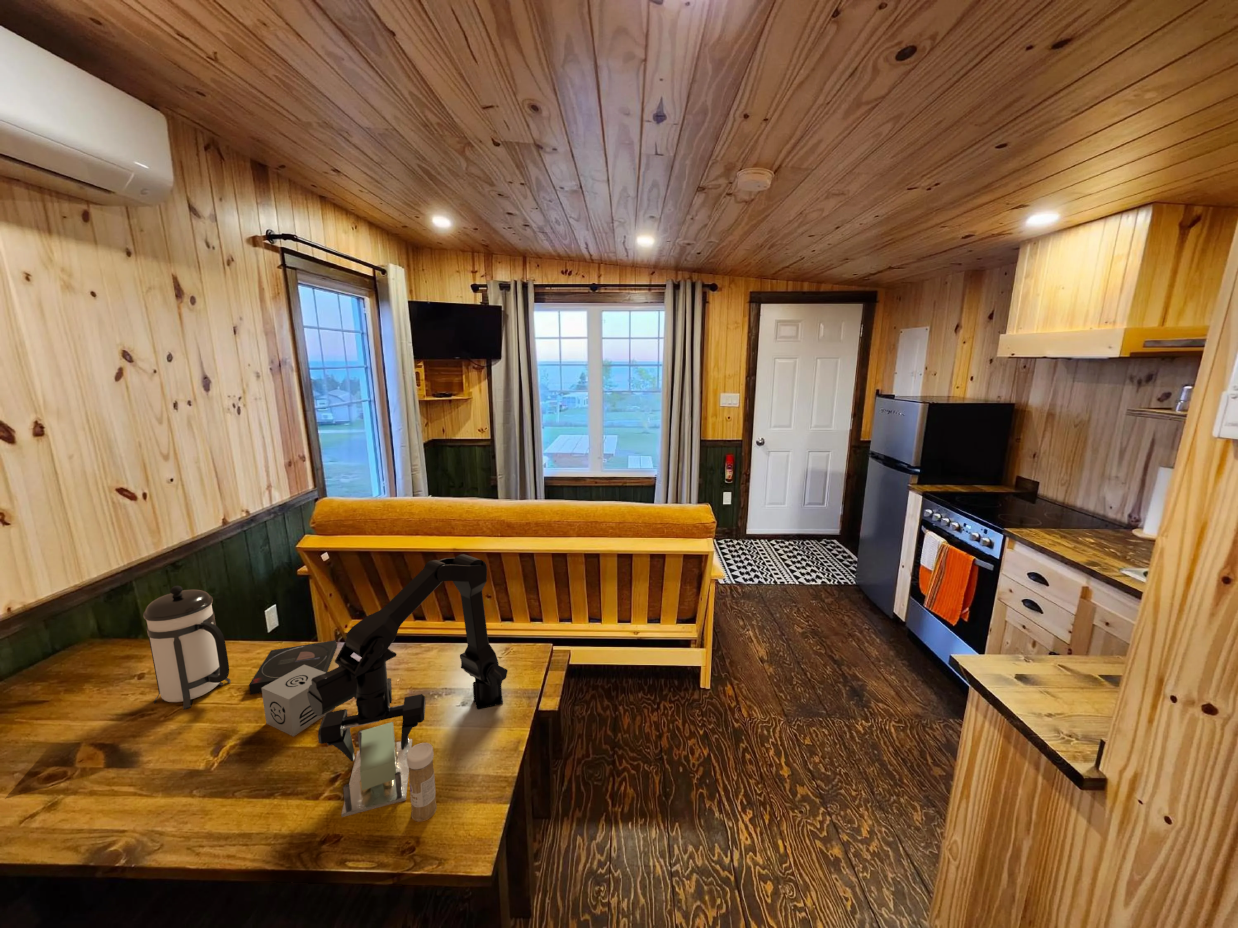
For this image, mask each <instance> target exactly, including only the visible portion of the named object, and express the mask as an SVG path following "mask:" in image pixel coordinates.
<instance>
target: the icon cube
mask: <svg viewBox="0 0 1238 928" xmlns="http://www.w3.org/2000/svg"><path fill="white" fill-rule="evenodd" d="M325 673H326V672H323V671H320V670H318V669H315V668H312V667H310V666H307V665H302V666H301V667H299V668H297V669H295V670H293V671H291V672H290V673H288V674H286V675H284V676H282V677H280V678H279V679H277V680H275V681H273V682H271V683H269V684H267V685H266V686H264V687H262V688H261V689H262V693H261V695H262V702H263V709H264V717H265V722H266V725H269V726H270V727H273V728H275V729H277V730H279V731H281V732H283V733H285V734H287V735H290V736H291V737H296V736H297V735H298V734H299V733H301V732H302V731H304V730H306V729H307V728H308V727H310V726H311V725H313V724H315V723H316V722H318V720H320V719H323V717H324V716H325V714H326V713H328V712H333V710H335V708H334V709H332V710H330V711H328V712H326V713H325V714H323V715H321V716H318V715H316V714H315V713H314V711H313V710H312V708H311V706H310V703H309V700H308V695H307V692H308V689H309V686H310V685H312V682H311V680H312V678H314V677H316V676H319V675H322V674H325Z"/></svg>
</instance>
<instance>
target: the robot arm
mask: <svg viewBox="0 0 1238 928" xmlns="http://www.w3.org/2000/svg"><path fill="white" fill-rule="evenodd" d="M487 580H488V566H487V563H486V562H485V561H484V560H483V559H480V558H477V557H474V556H470V555H468V554H466V553H465V554H464V553H463V554H458V555H457V556H455V557H445V558H441V559H433V560H429V561H428V562H426V563H425V564H424V567H423V569H422V570H421V571H420V572H419V573H417V574H416V575H415V576H414V577H413V578H412V579H411V580H410V581H409V582H408V583H407V584H406V585H405V586H404V587H403V588H402V589H401V590H400V591H399V592H398V593H397V594H396V595H395V596H394V597H393V598H392V599H391V600H390V601H389V602H387V604H386V605H385V606H383V607H382V608H381V609H380V610H378V611H375V612H373V613H371V614H368V615H367V616H365V617H364V618H363V619H361V620H360V621H358V622H357V623H355V624H354V625H353V626H352V627H351V628H350V629H349V630H348V631H347V633H346V636H345V637H346V639H345V641H344V643H343V645H342V647H341V648H340V650H339V652H338V654H337V656H336V658H335V660H334V663H335V665H338V666H337V667H336V668H333V669H332V670H328V672H327V673H325V674H322V675H319V676H316V677H314V678H312V680H311V682H312V685H310V686H309V689H308V692H307V695H308V700H309V703H310V706H311V708H312V710H313V711H314V713H315V714H316V715H318V716H321V715H323V714H325V713H326V712H328V711H330V710H332V709H333V710H334V711H333V710H332V711H330V712H328V713H326V714H325V716H323V717H322V720H321V722H320V724H319V728H318V731H317V732H318V734H317V737H318V738H317V739H318V743H319V744H321V745H322V744H327V746H334V747H335V748H336V749H337V750H339V751H340V752H342V753H343V755H345V757H347V759H349V761H351V762H355V758H356V755H355V748H354V744H353V739H352V733H351V729H352V728H356V727H360V726H365V725H369V724H370V725H371V724H375V723H379V722H380V721H385V720H389V719H394V718H398V717H399V718H400V717H402V725H401V735H400V736H401V738H400V741H401V749H402V750H403V749H404V747H405V744H406V740H407V737H409V735H410V732H411V731H412V729H413V728H416V727H418V725H419V724H420V723H423V721H425V717H426V716H425V715H426V703H427V702H426V696H425V695H424V694H423V693H420V694H414V695H411V696H405V697H404V701H403V704H399V705H394V706H391V705H390V704H392V701H393V695H392V689H393V688H392V678H391V677H388V671H387V670H388V669H387V661H390V660H392V659H393V658H395V657H397V652H396V651H395V652H394V651H393V650H391V649H390V646H391V645H392V644H393V643H394V641H395V639H396V638H397V635H398V631H399V629H400V627H401V626H402V624H403V623H404V622H405V621H406V620H407V619H408V617H409V616H411V614H412V613H414V611H416V609H418V607H420V605H422V603H423V602H424V601H425V600H427V598H428V597H429V596H430V595H431V594H432V593H433V592H434V591H435V590H436V589H437V588H438V587H439V586H440V585H441V584H442V583H443V582H452V583H453V584H454V586H455V588H456V589H457V590H458V592H459V594H460V598H461V607H462V613H463V620H464V628H465V635H466V642H467V643H466V644H467V646H466V649H465V650H464V652H463V653H460V654H459V658H460V662H461V664H460V668H461V669H463V671H464V672H465V673H467V674H469V676H470V677H472V678H474V680H475V681H473V683H472V690H473V691H472V693H473V702H474V703H475V708H476V710H480V709H485V708H489V707H493V706H494V707H495V706H498V705H503V704H504V699H503V691H502V690H503V689H502V685H503V681H504V680H506V678H507V677H508V669H506V668H504V667H502V666H501V665H500V664H499V660H498V657H497V654H496V651H495V650H494V649H493V647H492V645H491V644H490V642H489V638H488V629H487V621H486V614H485V613H486V612H485V604H484V596H483V590H484V587H485V586H486V583H487ZM353 654H355V655H357V656H358V657H359V658H360V659H359V660H358V659H355V658H354V657H352V655H353ZM352 699H354V700H355V706H356V709H357V714H353V715H349V716H348V709H347V708H345V709H340V710H335V709H334V708H337V707H339V706H341V705H343V704H345V703H346V702H349V701H351V700H352Z"/></svg>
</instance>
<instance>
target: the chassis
mask: <svg viewBox="0 0 1238 928" xmlns="http://www.w3.org/2000/svg"><path fill="white" fill-rule="evenodd" d="M363 730H364V729H363ZM363 730H362V729H361V730H358V732H357V738H358V747H359V748H358V749H359V750H357V751H356V755H355V758H354V761H353V767H352V771H351V776H350V779H349V783H347V784H344V786H343V787H342V789H343V797H344V802H343V806H342V810H341V818H343V817H348V816H352V815H356V814H359V813H362V812H367V811H370V810H371V811H372V810H373V809H377V808H382V807H386V806H389V805H393V804H398V803H402V802H405V801H406V800H407V793H408V792H407V791H408V786H409V785H408V784H409V767H408V765H407V753H408V751H409V750H410V749H411V748H412V747H413V738H410V739H409V736H408V737H407V740H406V744H405V747H404V749H403V750H402V749H401V740H400V741H395V758H396V773H395V779H394V780H391V781H388V782H385V783H382V784H379V785H377V786H374V787H371V788H368V789H365V790H362V785H361V776H360V764H361V740H362V731H363Z"/></svg>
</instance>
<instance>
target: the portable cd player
mask: <svg viewBox="0 0 1238 928" xmlns="http://www.w3.org/2000/svg"><path fill="white" fill-rule="evenodd" d="M337 648H338V644H337V639H336V640H335V639H333V640H329V641H328V640H327V641H321V642H315V643H309V644H302V645H295V646H290V647H283V648H277V649H271V650H270V651H269V652H268V654H267V656H266V657H265V659H264V660H263V662H262V664H261V665H260V667H259V669H257V672H256V673H255V675H254V676H253V678H252V679H251V681H250V682H249V683H248V688H249V694H250V695H251V696H252V695H257V694H262V689H261V688H262V687H264V686H266V685H267V684H269V683H271V682H273V681H275V680H277V679H279V678H280V677H282V676H284V675H286V674H288V673H290V672H291V671H293V670H295V669H297V668H299V667H301V666H302V665H307V666H310V667H312V668H315V669H318V670H320V671H323V672H326V673H327V672H329V669H330V666H331V663H332V661H333V658H334V656H335V653H336V652H337Z"/></svg>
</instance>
